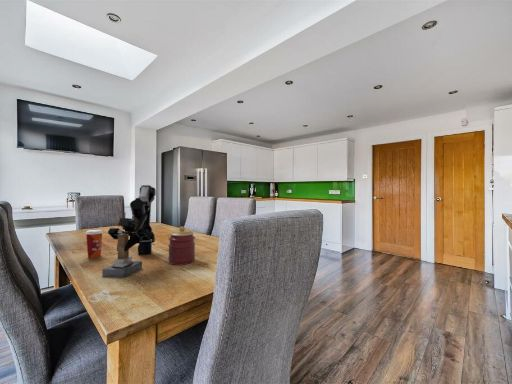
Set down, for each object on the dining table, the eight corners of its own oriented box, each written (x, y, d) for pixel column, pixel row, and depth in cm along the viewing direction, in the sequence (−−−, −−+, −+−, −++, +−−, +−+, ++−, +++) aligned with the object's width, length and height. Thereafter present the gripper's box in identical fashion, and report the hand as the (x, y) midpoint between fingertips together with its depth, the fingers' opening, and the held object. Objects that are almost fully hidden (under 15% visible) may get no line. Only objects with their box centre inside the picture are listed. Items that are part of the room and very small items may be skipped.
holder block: (122, 266, 111) (122, 260, 110) (142, 268, 109) (142, 261, 109) (102, 276, 99) (102, 269, 99) (124, 277, 97) (124, 270, 97)
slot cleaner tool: (123, 262, 107) (123, 232, 107) (131, 262, 107) (131, 233, 106) (114, 266, 101) (114, 235, 101) (122, 267, 101) (122, 235, 100)
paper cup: (96, 258, 123) (96, 231, 122) (81, 258, 123) (81, 231, 123) (106, 254, 130) (106, 229, 130) (92, 254, 131) (92, 229, 130)
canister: (187, 266, 113) (187, 229, 112) (162, 264, 115) (163, 227, 115) (199, 258, 125) (199, 225, 125) (177, 256, 128) (177, 224, 128)
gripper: (110, 210, 109) (90, 239, 98) (148, 211, 106) (132, 241, 96) (122, 225, 117) (105, 253, 106) (157, 226, 114) (144, 255, 103)
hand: (121, 250), depth 103 cm, fingers closed on slot cleaner tool, 3 cm apart
